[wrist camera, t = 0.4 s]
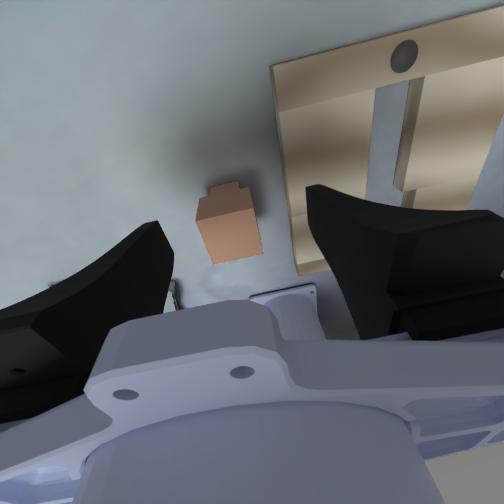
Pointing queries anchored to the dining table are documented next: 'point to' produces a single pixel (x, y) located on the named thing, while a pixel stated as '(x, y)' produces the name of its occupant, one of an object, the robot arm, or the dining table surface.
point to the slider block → (228, 223)
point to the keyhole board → (414, 125)
